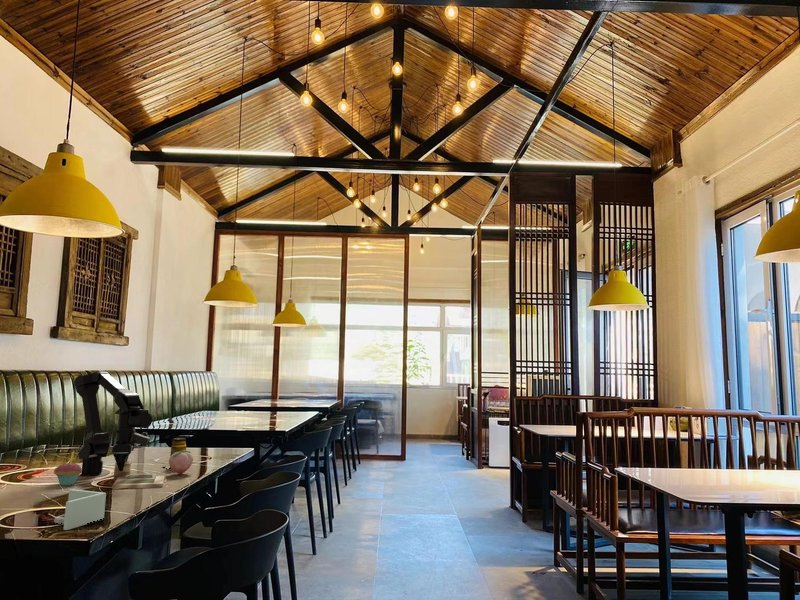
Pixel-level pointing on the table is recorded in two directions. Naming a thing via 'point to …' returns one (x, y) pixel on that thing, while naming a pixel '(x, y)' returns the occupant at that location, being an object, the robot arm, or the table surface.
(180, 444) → the condiment
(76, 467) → the cupcake
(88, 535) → the table surface
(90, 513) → the l-shaped corner panel
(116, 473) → the block
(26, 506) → the table surface
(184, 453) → the decorative fruit
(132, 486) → the board
